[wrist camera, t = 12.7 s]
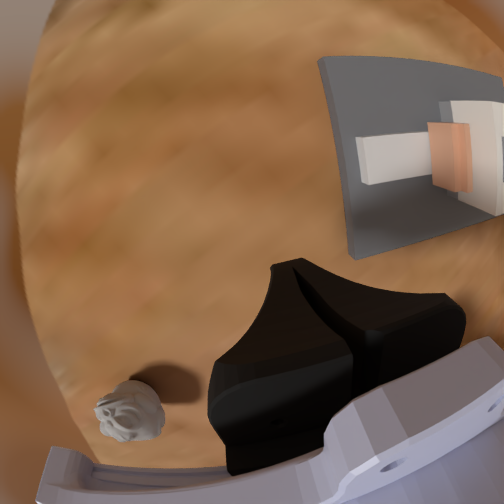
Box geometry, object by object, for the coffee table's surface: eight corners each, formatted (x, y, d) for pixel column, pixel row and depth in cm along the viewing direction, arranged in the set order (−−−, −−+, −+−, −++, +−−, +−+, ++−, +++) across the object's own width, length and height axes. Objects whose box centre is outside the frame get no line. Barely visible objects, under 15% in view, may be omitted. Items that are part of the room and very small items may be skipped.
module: (475, 189, 18) (523, 208, 13) (446, 195, 18) (498, 217, 13) (468, 103, 15) (521, 106, 10) (438, 101, 15) (494, 101, 10)
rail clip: (450, 181, 16) (478, 190, 13) (432, 184, 16) (460, 194, 13) (446, 121, 14) (475, 124, 12) (427, 122, 14) (456, 124, 12)
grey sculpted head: (132, 352, 22) (114, 414, 16) (182, 395, 25) (178, 453, 18) (95, 372, 23) (74, 426, 17) (142, 410, 26) (133, 462, 19)
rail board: (501, 208, 20) (521, 217, 18) (348, 253, 20) (366, 271, 18) (493, 77, 15) (514, 77, 12) (317, 61, 15) (333, 49, 12)
